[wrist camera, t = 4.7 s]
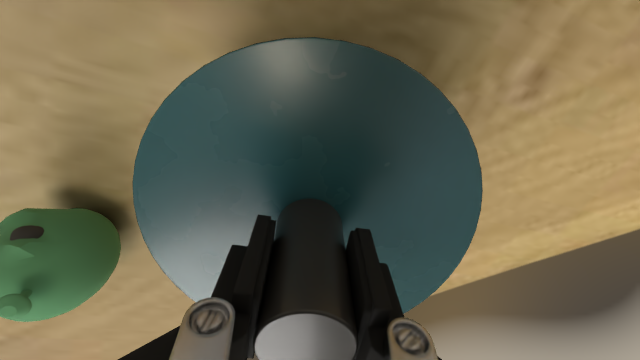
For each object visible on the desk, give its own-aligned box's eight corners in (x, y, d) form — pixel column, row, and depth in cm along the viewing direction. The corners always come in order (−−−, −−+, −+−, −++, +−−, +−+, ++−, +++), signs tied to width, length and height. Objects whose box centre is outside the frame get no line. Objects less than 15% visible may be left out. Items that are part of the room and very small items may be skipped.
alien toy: (88, 168, 23) (-58, 251, 14) (157, 238, 26) (74, 344, 17) (26, 206, 24) (-143, 306, 15) (99, 269, 27) (-7, 383, 18)
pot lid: (530, 75, 12) (778, 121, 6) (413, 331, 19) (464, 486, 12) (128, 0, 11) (-159, -55, 4) (158, 305, 18) (66, 463, 11)
